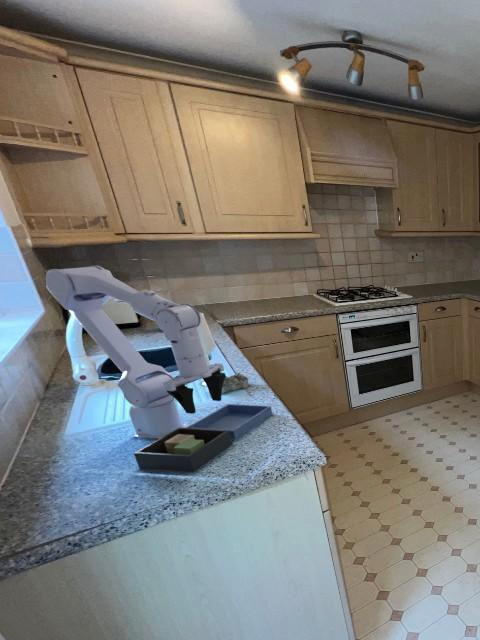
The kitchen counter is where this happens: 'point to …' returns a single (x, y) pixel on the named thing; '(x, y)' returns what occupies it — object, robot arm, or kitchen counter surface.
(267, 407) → the blue box
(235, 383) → the egg carton
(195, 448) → the green cube
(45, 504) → the kitchen counter surface
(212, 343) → the champagne flute
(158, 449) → the black basket
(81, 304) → the robot arm
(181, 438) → the cream cube
